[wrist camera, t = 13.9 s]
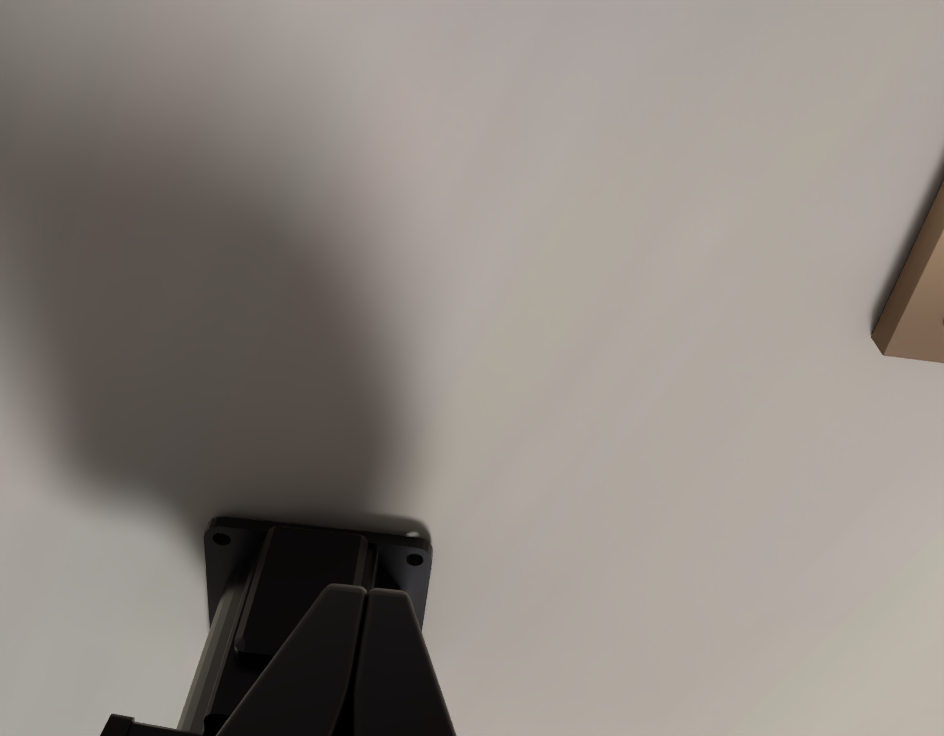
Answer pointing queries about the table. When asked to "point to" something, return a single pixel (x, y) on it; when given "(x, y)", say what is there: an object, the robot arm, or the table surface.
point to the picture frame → (918, 297)
